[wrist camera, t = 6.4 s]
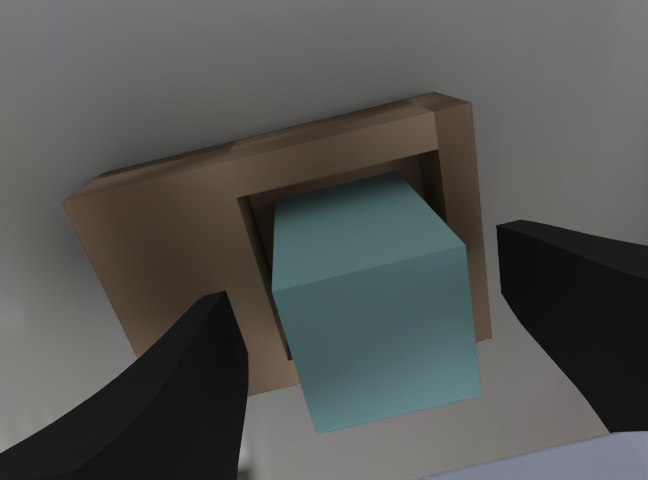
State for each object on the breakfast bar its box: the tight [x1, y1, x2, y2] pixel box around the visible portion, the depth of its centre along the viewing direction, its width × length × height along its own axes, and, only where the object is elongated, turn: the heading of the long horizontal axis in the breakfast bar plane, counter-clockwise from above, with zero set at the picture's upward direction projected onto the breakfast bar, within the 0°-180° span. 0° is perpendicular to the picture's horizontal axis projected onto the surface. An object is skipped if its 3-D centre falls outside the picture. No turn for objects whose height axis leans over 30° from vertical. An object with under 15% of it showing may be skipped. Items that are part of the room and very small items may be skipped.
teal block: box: [272, 171, 481, 435], centre depth 13 cm, size 4×4×6 cm
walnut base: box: [62, 92, 492, 396], centre depth 15 cm, size 11×8×3 cm
